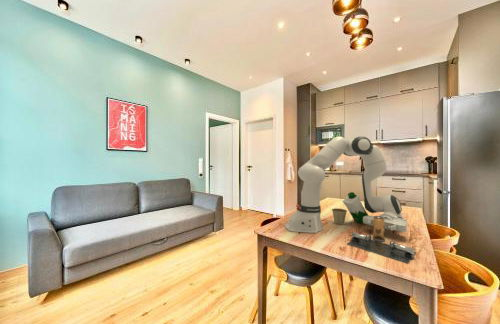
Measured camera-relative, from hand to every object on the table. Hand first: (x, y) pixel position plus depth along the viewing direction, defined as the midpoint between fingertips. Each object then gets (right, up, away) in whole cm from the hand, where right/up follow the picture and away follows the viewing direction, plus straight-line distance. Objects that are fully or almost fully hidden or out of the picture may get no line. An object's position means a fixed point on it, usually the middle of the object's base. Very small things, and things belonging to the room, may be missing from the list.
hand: (379, 226), depth 103 cm
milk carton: (+7, -5, +28) cm, 29 cm away
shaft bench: (-7, -7, -11) cm, 15 cm away
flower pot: (-9, -7, +27) cm, 29 cm away
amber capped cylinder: (-1, -7, -1) cm, 7 cm away
